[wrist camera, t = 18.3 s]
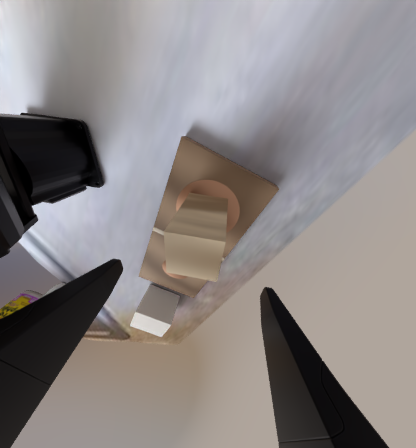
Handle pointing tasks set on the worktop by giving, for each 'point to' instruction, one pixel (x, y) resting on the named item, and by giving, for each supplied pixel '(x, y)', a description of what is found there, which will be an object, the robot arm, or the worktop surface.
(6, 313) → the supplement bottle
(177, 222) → the tan rectangular block
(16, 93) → the worktop surface
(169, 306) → the block
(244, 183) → the board
